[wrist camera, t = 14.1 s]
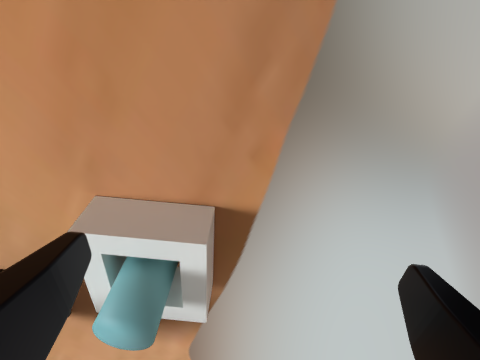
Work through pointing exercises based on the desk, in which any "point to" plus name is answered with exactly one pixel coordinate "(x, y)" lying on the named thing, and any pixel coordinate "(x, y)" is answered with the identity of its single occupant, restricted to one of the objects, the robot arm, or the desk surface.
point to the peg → (135, 303)
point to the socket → (151, 248)
